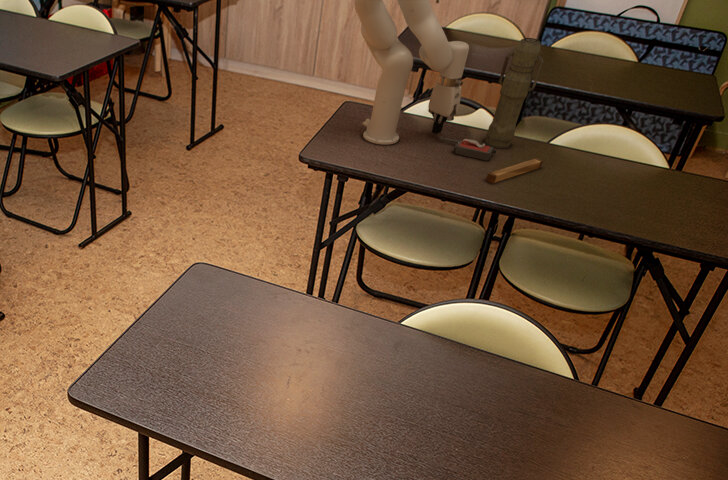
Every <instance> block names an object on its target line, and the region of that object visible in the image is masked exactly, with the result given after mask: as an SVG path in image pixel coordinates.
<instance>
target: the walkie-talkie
mask: <svg viewBox="0 0 728 480" xmlns="http://www.w3.org/2000/svg"><path fill="white" fill-rule="evenodd" d="M439 141H443V142H449V143H453V144H454V148H453V151H454V154H456V155H458V156H459V155H460V156H464V157H467V158H474V159H476V160H482V161H489V159H491V157H492V154H493V155H494V154H496V153H497V151H496V149H495V147H491V146H489V145H486V143H482V144H480V143H479V142H478V141H477V140H475V139H470V138H464V139H463V140H462V139H461V140H457V139H452V138H447V137H444V136H440V137H439Z"/></svg>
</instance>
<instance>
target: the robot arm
mask: <svg viewBox="0 0 728 480" xmlns="http://www.w3.org/2000/svg"><path fill="white" fill-rule="evenodd" d="M396 1H397V3H398V6H399V8H400V10H401V13H402V16H403V18H404V22H405V24H406V26H408V28H409V30H410V31H411V33H412V34H413V35H414V37H416V38H417V40H418V42H419V43H420V45H421V46H419V50H418V56H419V59H420V60H421V61H422V62H423V63H424V64H425V65H426V66H427V67H428V68H430V69H431V70H432V71H433V72H438V73H439V74H438V78H437V81H436V82H435V83H434V86H433V88H432V91H431V94H430V96H429V97H430V98H429V101H428V106H427V107H428V109H427V111H428V113H430V115H431V116H432V121H433V125H432V129H431V133H432V134H434V135H438V134H440V133H442V131H443V128H444V124H445V123H446V122H451V121H454V119H455V116H456V115H458V113H459V108H460V106H461V105H460V104H461V99H462V86H463V84H464V82H463V81H462V78H463V75H464V70H465V67H466V62H467V59H468V56H469V55H468V54H469V51H470V44H468V43H467V42H465V41H461V40H453V41H448V38H447V35H446V34H445V31H444V29H443V28H442V25H441V23H440V22H439V19H438V17H437V15H436V13H435V12H434V11H435V10H434V9H433V6H432V5H431V2H430V0H396ZM353 3H354V4H353V5H354V10H355V13H356V14H357V17H358V19H359V21H360V33H361V36H362V38H363V40H364V42H365V44H366V46H367V47H368V49H369V51H370V53H371V54H372V57H373V59H374V60H375V61H376V63H377V64H378V66H380V67H381V69H382V71H381V74H380V77H379V78H378V80H377V81H378V82H377V85H376V88H375V89H376V90H375V95H374V99H373V106H372V110H371V115H370V118H366V119H365V121H363V122H362V126H364V127H366V130H364V131H363V134H362V137H363V139H364V140H365V141H367V142H369V143H372V144H374V145H375V144H376V145H381V146H384V145H385V146H387V145H394V144H396V143H398V141H399V139H400V136H399V134H398V133H397V129H398V123H399V118H400V114H401V111H402V106H403V101H404V97H405V93H406V87H407V84H408V80H409V78H410V75H411V73H412V70H413V67H414V56H413V53H412V52H411V50H410V49H409V48H408V47H407V46H406V45H405V44H404V43H402V42H401V41H400V39H399V38H398V28H397V25H396V22H394V20H393V18H392V16H391V14H390V13H389V11H388V9H387V7H386V4H385V2H384V0H354V2H353Z"/></svg>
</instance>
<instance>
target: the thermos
mask: <svg viewBox="0 0 728 480" xmlns="http://www.w3.org/2000/svg"><path fill="white" fill-rule="evenodd" d="M540 52H541V40H539V39H537V38H534V37H524V38H521V39H520V40H519V42H518V44H516V47H515V49H514V51H512V52H509V53H508V54H507V55H505V58H504V60H503V61H504V62H503V65H502V68H501V72H500V76H499V79H498V83H499V85H500V90H499V93H500V95H499V98H498V102H497V105H496V109H495V110H494V111H495V112H494V115H493V118H492V121H491V123H490V124H489V125H488V128H487V132H486V137H485V139H484V144H485V145H486V146H489V147H494V149H508V148H510V147H511V143H512V140H513V139H514V136H515V133H516V131H517V130H516V129H517V128H516V126H517V122H518V119H519V117H520V113H521V111H522V108H523V105H524V101H525V99H526V98H527V97H528V95H529V92H530V91H534V89H535V87H536V85H537V81H538V79H539V76H540V73H541V70H542V67H543V64H544V58H543V56H541V55H540ZM511 56H512V59H511V62H510V67H509V68H508V71H507V72H506V70H507V67H508V63H509V60H510V57H511ZM538 61H539V63H540V64H539V66H538V70H537V72H536V75H535V77H534V81H533V73H534V68H535V67H536V64H537V62H538ZM505 73H506V74H505ZM532 83H533V84H532Z"/></svg>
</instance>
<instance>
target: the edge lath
mask: <svg viewBox="0 0 728 480" xmlns="http://www.w3.org/2000/svg"><path fill="white" fill-rule="evenodd" d="M543 162H544V160H542V159H541V158H538V157H535V158H533V159H530V160H525V161H522V162H520V163H517V164H514V165H510V166H508V167H504V168H502V169H498V170H494V171H492V172H488V173H487V175H486V178H485V182H488V183H490V184H495V183H498V182H501V181H504V180H508V179H511V178H514V177H516V176H520V175H522V174H526V173H529V172H531V171H535V170H538V169H540V168H541V167H542V165H543Z"/></svg>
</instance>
